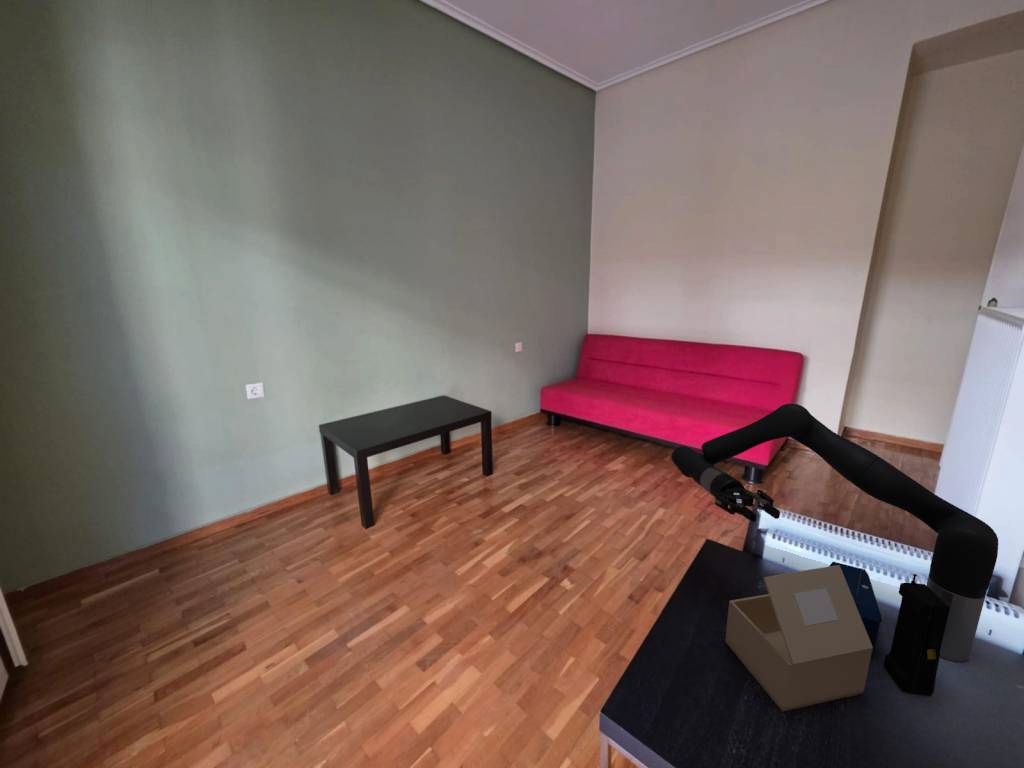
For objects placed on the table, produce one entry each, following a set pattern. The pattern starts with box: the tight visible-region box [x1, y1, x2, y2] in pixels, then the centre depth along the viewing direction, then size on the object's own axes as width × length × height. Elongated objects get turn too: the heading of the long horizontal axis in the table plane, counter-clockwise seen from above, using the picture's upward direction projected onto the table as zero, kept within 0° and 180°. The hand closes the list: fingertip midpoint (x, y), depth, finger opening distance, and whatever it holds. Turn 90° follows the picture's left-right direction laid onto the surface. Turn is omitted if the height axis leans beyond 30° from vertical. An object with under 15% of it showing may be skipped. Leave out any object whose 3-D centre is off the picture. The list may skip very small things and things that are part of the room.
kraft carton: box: [724, 593, 872, 713], centre depth 96 cm, size 18×20×12 cm
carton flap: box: [762, 565, 873, 664], centre depth 88 cm, size 16×19×1 cm
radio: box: [829, 561, 883, 656], centre depth 106 cm, size 21×9×20 cm, turn 148°
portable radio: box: [883, 573, 950, 697], centre depth 89 cm, size 8×6×25 cm
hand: (766, 516), depth 101 cm, fingers open, 5 cm apart
